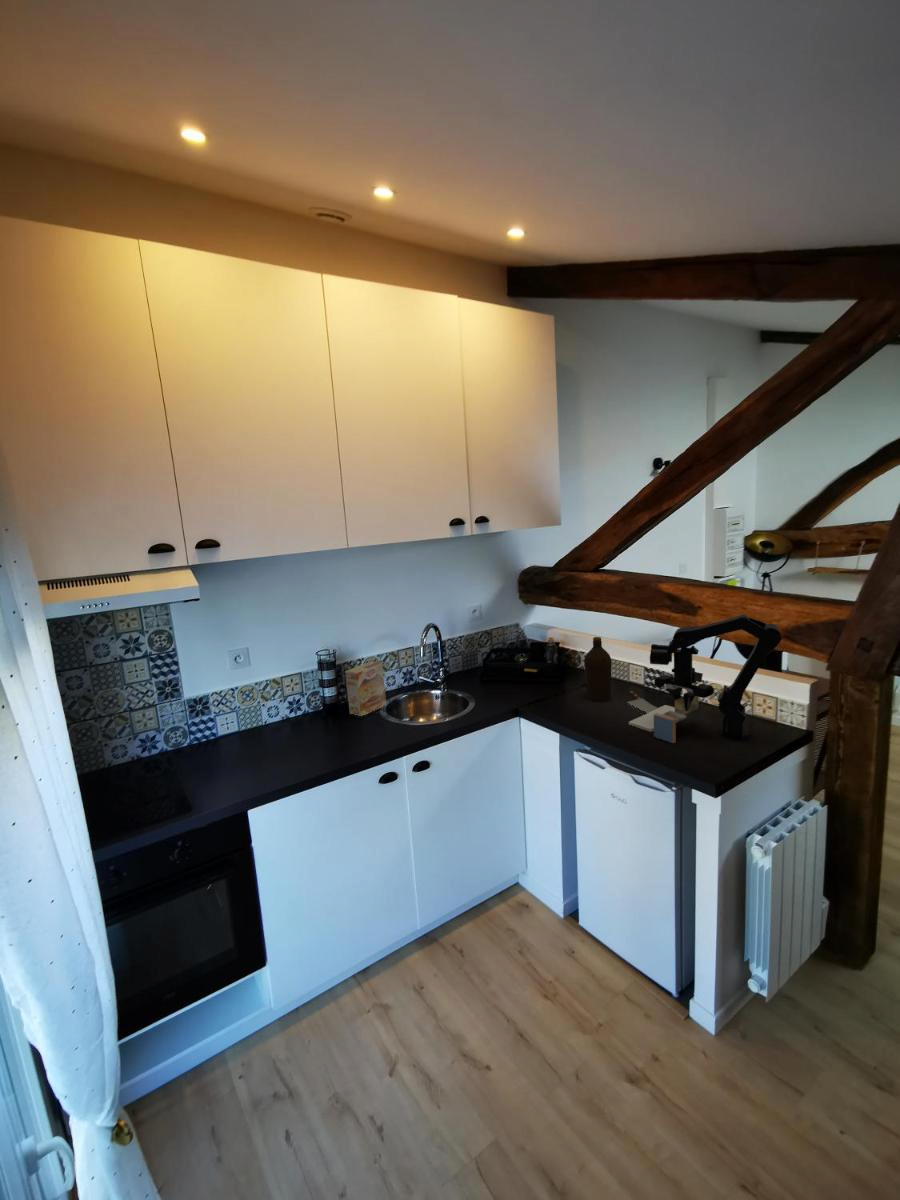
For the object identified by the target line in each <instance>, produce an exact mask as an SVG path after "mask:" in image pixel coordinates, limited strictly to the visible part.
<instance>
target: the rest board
mask: <svg viewBox="0 0 900 1200" xmlns="http://www.w3.org/2000/svg"><path fill="white" fill-rule="evenodd" d="M657 708H658V709H655V710H653V711H651V712H649V713H647V714H645V715H644V714H642V715H641V716H639V717H636V718H634V719H631V720H630V721H628V725H629V726H631V725H632V727H634V726H635V728H637V729H640V730H641V729H642V730H644V731H647V732H650V733H652V732H654V714H656V713H657V714H661V715H662V714H664V713H666V712H668V711H673V712H675V706H671V705H667V704H664V705H662V706H660V707H657Z"/></svg>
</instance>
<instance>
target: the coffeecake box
mask: <svg viewBox="0 0 900 1200" xmlns="http://www.w3.org/2000/svg"><path fill="white" fill-rule="evenodd" d="M383 666H384V665H383V663H382V662H378V661H368V662H366V663H363V664H360V665H358V666H356V667H352V668H350V669H347V670H345V671H344V673H345V680H346V689H347V698H348V709H349V715H350V714H354V715H358V716H363V715H366V714H368V713H370V712H372V711H375V710H377V709H379V708H381V707H383V706H384V705H386V706H387V699H386V698H387V697H386V687H385V679H384V667H383Z"/></svg>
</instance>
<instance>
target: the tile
mask: <svg viewBox="0 0 900 1200" xmlns="http://www.w3.org/2000/svg"><path fill="white" fill-rule="evenodd" d="M676 724H677V723H676V721H675V719H674V718H671V717H668V716H664V715H661V714H657V713H656V714H654V731H653V738H655V737H656V739H658V740H661V739H662V741H665V742H667V741H668V742H667V743H671V744H675V743H676V741H677V740H676V739H677V738H676V735H677V734H676V733H677V731H676V729H677V728H676V727H677V726H676Z"/></svg>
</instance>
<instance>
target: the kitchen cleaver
mask: <svg viewBox="0 0 900 1200" xmlns="http://www.w3.org/2000/svg"><path fill="white" fill-rule="evenodd" d="M627 693H628V695H629V694H630V695H631V696H633V699H634V700H630V701H626V702H627V703H629V704H630V705H631V706H632V705H633V706H634V707H635V708H636V707H637V708H639V709H640V710H642V711H645V712H646V713H649V712H651V711H653V710H655V709H658V708H659V707H657V706H654V705H652V704H651V703H649V702H648V701H646V700H645V699H644V698H643V697H641V696H640V695H639V694H638V693H636V692H635V691H634V690H629V691H628V692H627ZM630 695H629V696H630ZM635 698H636V699H635ZM627 703H626V704H627ZM629 704H628V705H629ZM630 705H629V706H630ZM631 706H630V707H631Z"/></svg>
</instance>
